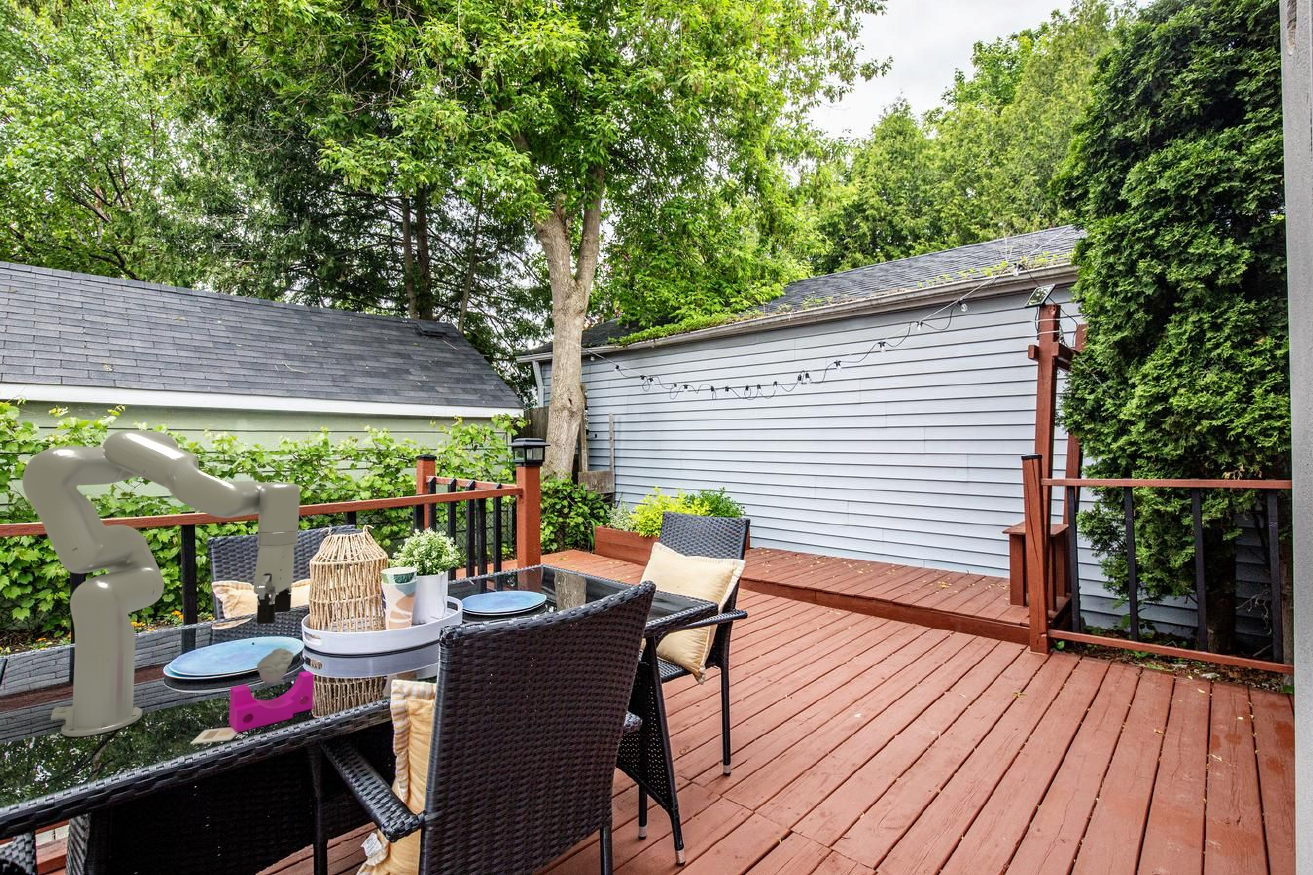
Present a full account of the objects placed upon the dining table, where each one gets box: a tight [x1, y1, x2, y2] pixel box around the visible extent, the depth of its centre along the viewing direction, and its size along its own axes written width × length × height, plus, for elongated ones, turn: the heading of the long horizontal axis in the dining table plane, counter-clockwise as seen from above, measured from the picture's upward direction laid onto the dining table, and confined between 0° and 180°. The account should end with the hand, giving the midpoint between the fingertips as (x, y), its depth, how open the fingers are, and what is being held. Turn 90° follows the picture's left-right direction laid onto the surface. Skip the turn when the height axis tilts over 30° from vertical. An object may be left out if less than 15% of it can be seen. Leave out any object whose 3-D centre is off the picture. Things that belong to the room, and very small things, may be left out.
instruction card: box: [189, 726, 239, 745], centre depth 122 cm, size 7×6×1 cm
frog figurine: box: [256, 648, 294, 684], centre depth 131 cm, size 6×7×7 cm
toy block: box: [228, 670, 315, 734], centre depth 130 cm, size 15×6×8 cm, turn 137°
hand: (274, 617), depth 131 cm, fingers open, 9 cm apart
